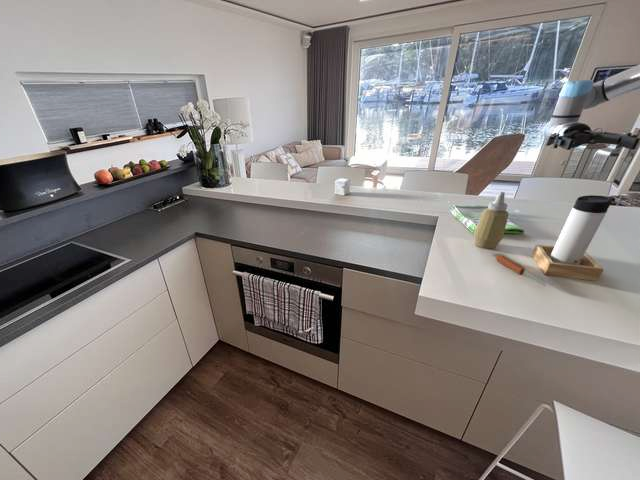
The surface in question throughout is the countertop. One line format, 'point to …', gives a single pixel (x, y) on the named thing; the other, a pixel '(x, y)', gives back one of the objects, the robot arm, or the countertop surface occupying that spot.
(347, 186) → the product carton
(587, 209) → the travel mug
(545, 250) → the wooden tray
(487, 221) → the squeeze bottle
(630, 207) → the countertop surface
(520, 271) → the kitchen knife
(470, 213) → the dish towel
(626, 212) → the countertop surface
